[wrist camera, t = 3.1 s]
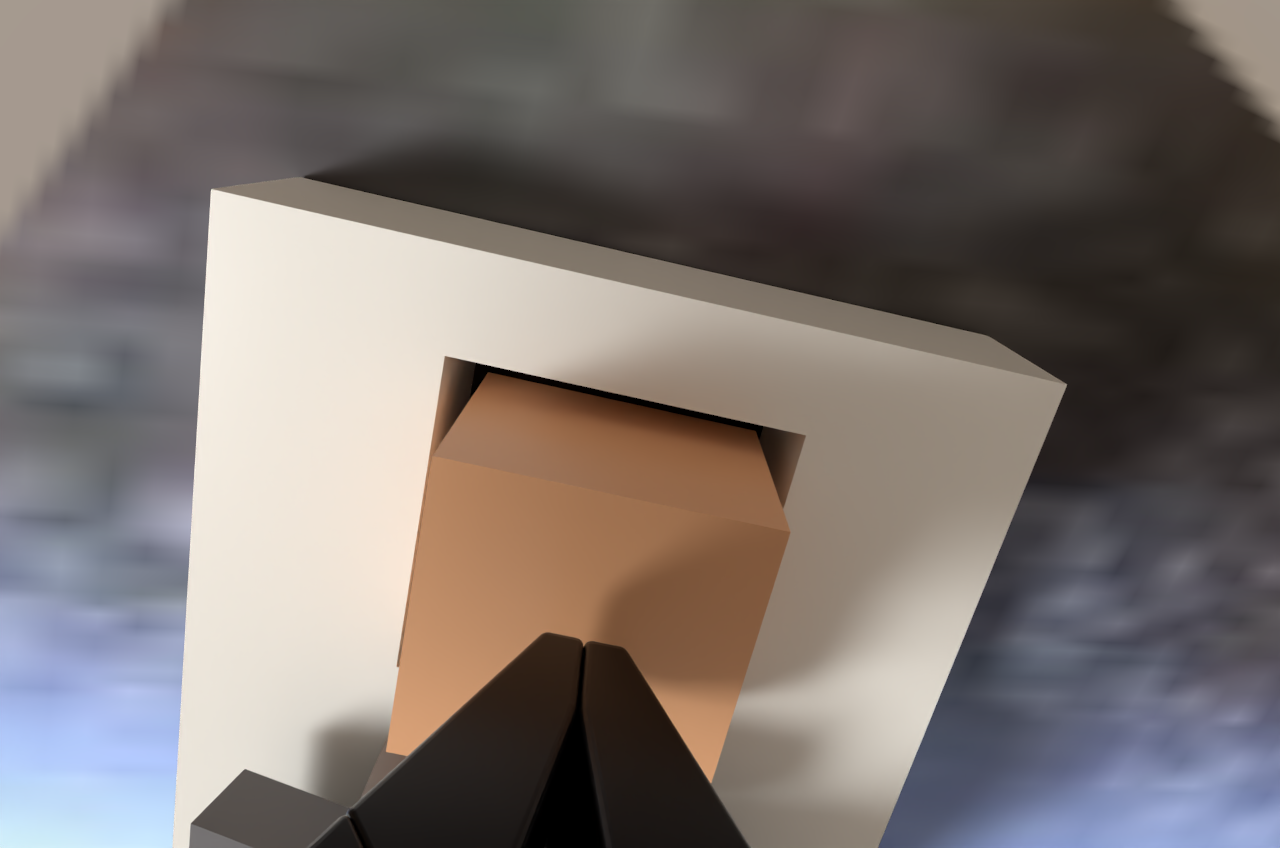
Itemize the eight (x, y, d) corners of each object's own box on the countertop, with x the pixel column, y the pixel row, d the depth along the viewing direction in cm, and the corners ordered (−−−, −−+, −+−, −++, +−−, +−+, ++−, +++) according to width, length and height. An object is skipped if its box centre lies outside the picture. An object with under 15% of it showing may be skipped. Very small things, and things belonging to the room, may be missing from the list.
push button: (756, 431, 11) (790, 532, 8) (690, 657, 12) (701, 812, 10) (488, 371, 11) (432, 456, 8) (447, 607, 12) (385, 751, 9)
